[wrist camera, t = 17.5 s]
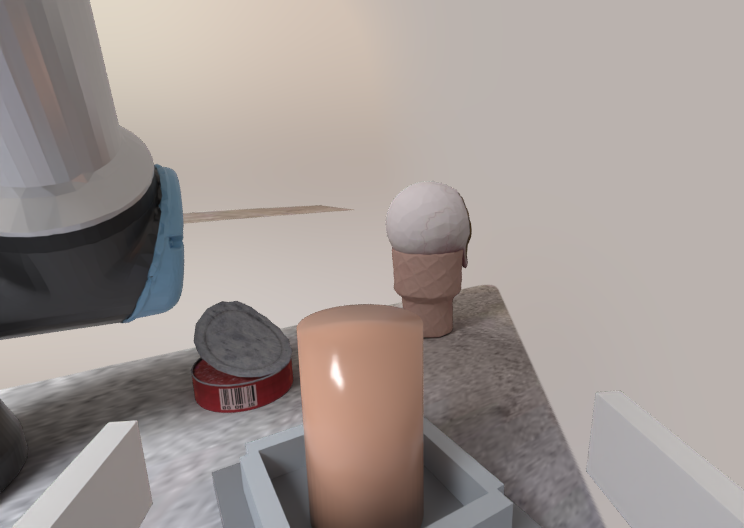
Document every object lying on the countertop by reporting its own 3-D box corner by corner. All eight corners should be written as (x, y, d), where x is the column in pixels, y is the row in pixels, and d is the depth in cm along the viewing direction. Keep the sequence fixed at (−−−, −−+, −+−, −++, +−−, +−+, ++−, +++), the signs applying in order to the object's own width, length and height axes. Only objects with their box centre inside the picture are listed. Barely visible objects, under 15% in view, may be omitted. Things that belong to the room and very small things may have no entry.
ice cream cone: (483, 338, 51) (488, 180, 47) (402, 350, 49) (400, 183, 44) (447, 311, 62) (448, 179, 57) (379, 320, 59) (375, 182, 55)
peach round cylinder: (285, 521, 24) (269, 331, 21) (355, 454, 30) (348, 298, 27) (383, 584, 20) (377, 360, 18) (442, 493, 26) (444, 315, 23)
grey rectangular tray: (213, 484, 28) (207, 441, 28) (402, 414, 36) (401, 379, 35) (276, 768, 15) (268, 699, 14) (560, 559, 22) (565, 506, 21)
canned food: (270, 398, 48) (301, 320, 48) (284, 440, 39) (323, 343, 39) (171, 374, 44) (207, 289, 44) (161, 414, 34) (206, 306, 35)
